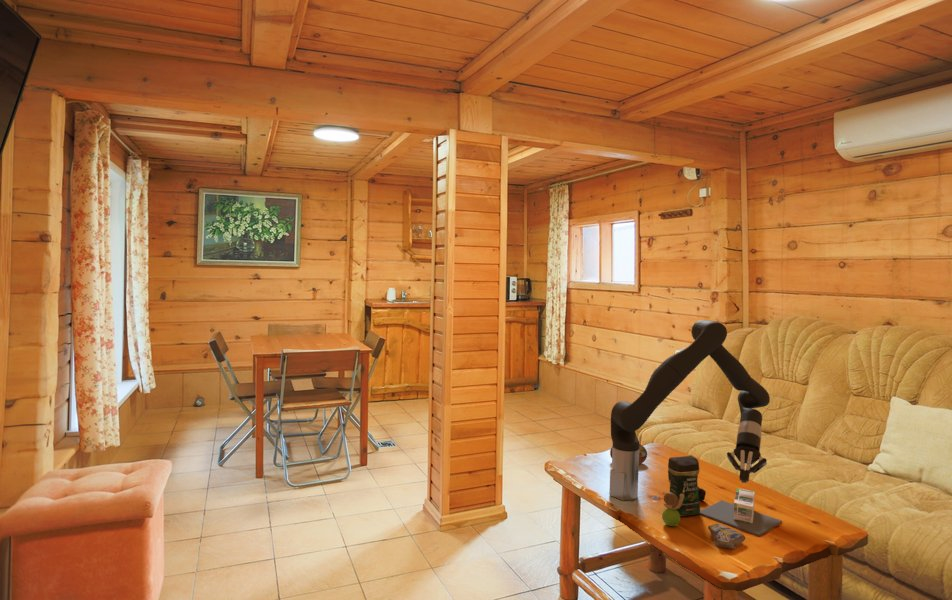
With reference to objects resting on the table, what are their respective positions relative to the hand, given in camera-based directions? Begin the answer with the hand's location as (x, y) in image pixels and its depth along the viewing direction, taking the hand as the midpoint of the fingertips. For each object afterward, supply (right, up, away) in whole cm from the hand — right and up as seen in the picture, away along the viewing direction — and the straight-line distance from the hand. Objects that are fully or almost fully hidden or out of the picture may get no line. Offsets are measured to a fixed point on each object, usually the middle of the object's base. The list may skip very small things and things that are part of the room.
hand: (743, 481), depth 189 cm
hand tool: (-14, -9, +18) cm, 25 cm away
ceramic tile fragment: (-15, -11, -21) cm, 29 cm away
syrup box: (+2, -7, +3) cm, 7 cm away
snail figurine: (-28, -10, -12) cm, 32 cm away
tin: (-27, -7, +46) cm, 54 cm away
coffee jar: (-21, -10, -2) cm, 23 cm away
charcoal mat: (-4, -10, -5) cm, 12 cm away
